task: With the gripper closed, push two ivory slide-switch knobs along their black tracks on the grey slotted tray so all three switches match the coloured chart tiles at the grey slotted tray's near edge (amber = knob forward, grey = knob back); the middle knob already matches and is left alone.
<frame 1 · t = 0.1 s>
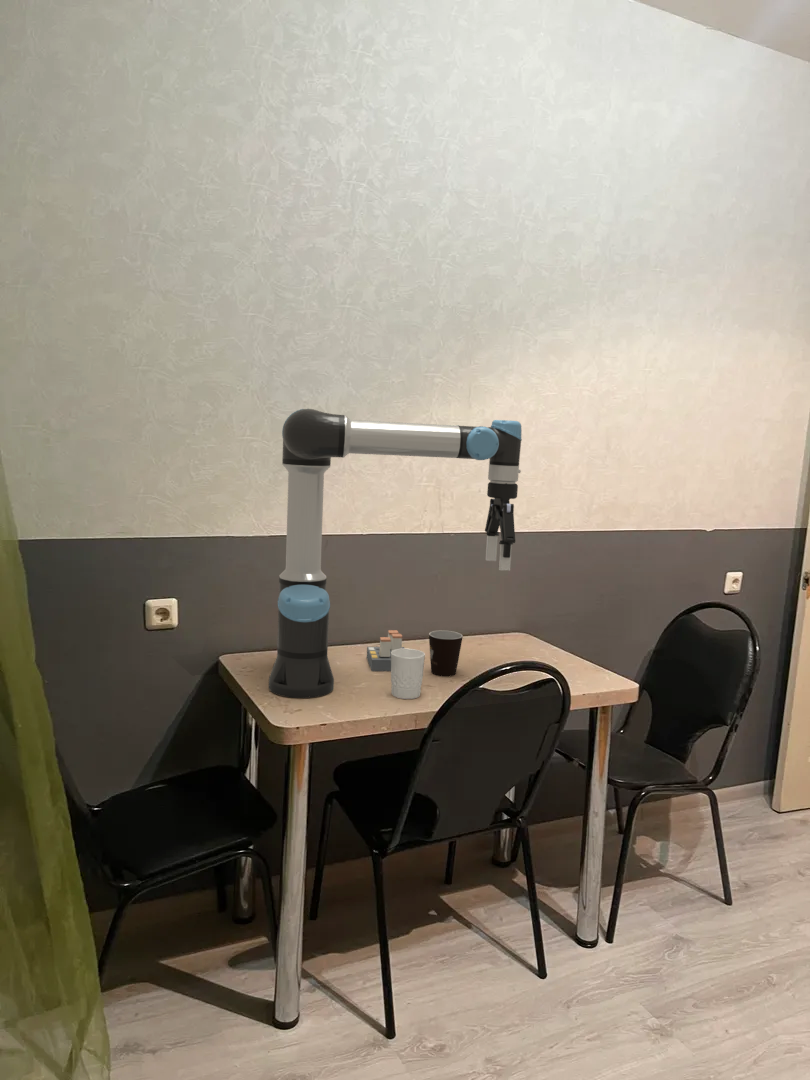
hand: (497, 565, 206), 28 cm above the table, fingers open, 13 cm apart
grey slotted tray: (388, 664, 212), on the table
coffee mug: (444, 671, 208), on the table
slider 3: (392, 639, 215), point 6 cm above the table, slide at 1.5 cm
white cup: (405, 695, 189), on the table
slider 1: (385, 646, 207), point 6 cm above the table, slide at -1.5 cm
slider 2: (396, 643, 211), point 6 cm above the table, slide at 2.0 cm
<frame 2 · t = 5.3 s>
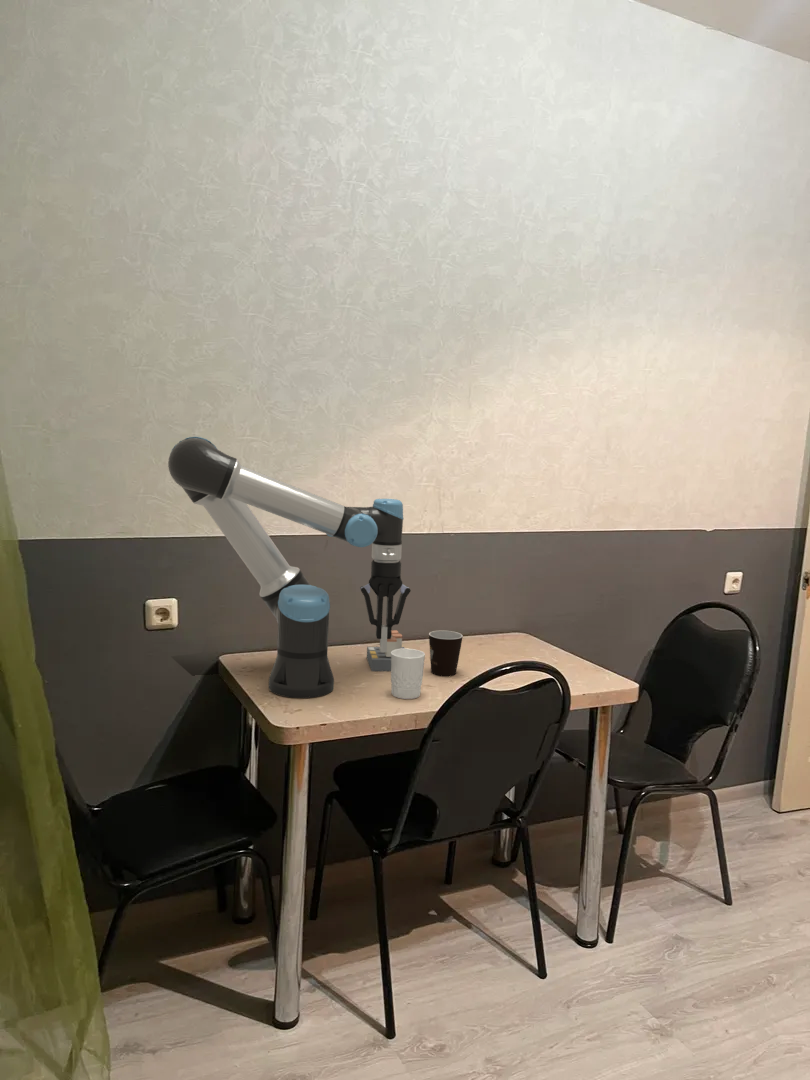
hand: (383, 650, 207), 5 cm above the table, fingers closed
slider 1: (390, 647, 207), point 6 cm above the table, slide at 0.0 cm, touching gripper
everything else where it was.
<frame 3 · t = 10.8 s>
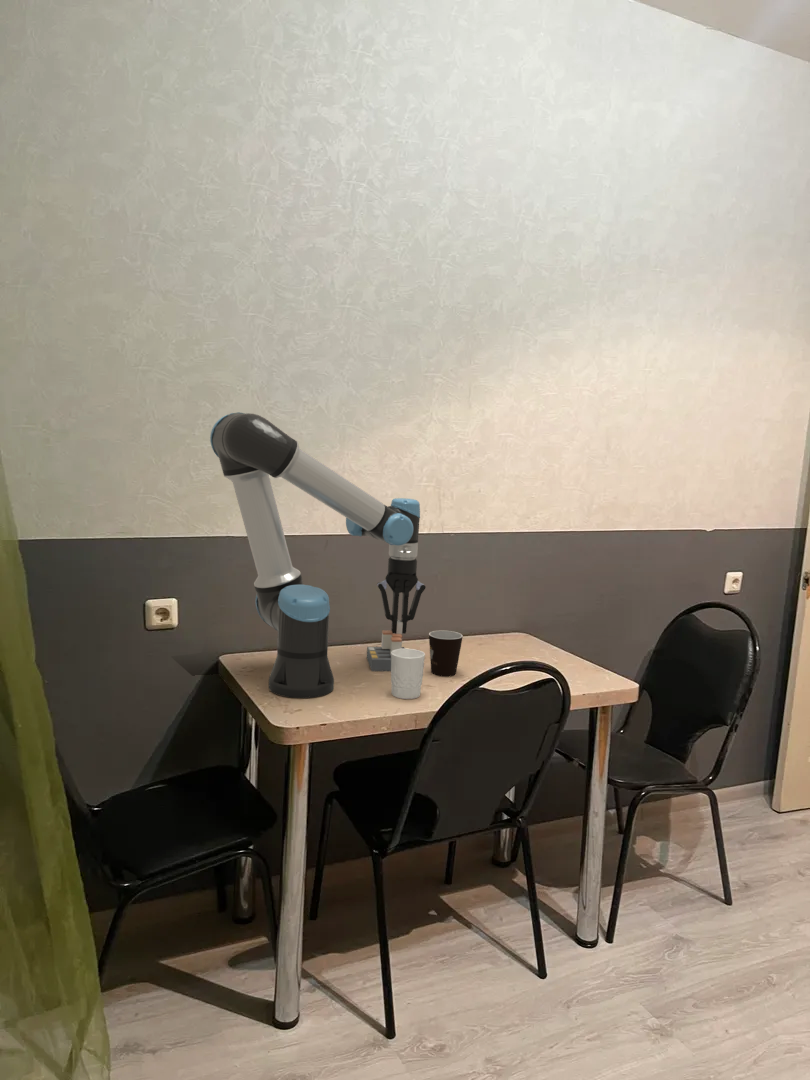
hand: (397, 645, 215), 4 cm above the table, fingers closed
slider 3: (386, 639, 214), point 6 cm above the table, slide at -0.1 cm, touching gripper
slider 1: (395, 647, 208), point 6 cm above the table, slide at 1.3 cm
everything else where it was.
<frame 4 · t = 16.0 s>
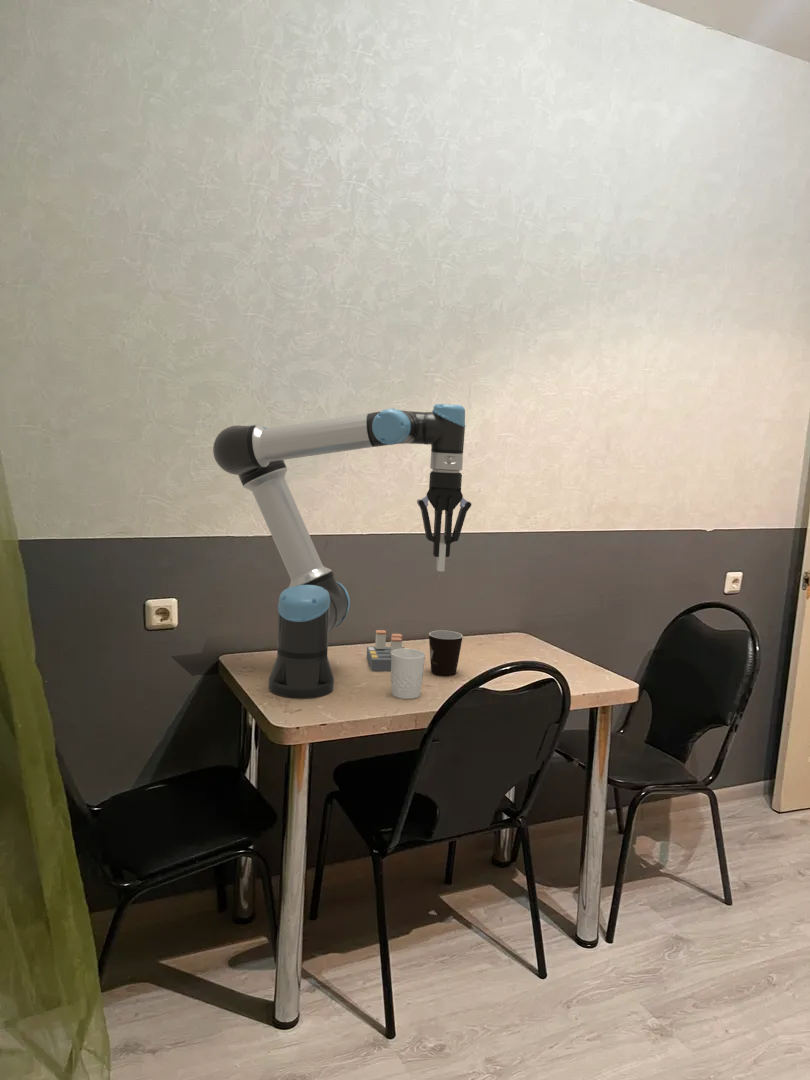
hand: (440, 570, 192), 28 cm above the table, fingers closed
slider 3: (380, 639, 214), point 6 cm above the table, slide at -1.8 cm
everything else where it was.
at the end: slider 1 slide at 1.3 cm; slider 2 slide at 2.0 cm; slider 3 slide at -1.8 cm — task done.
